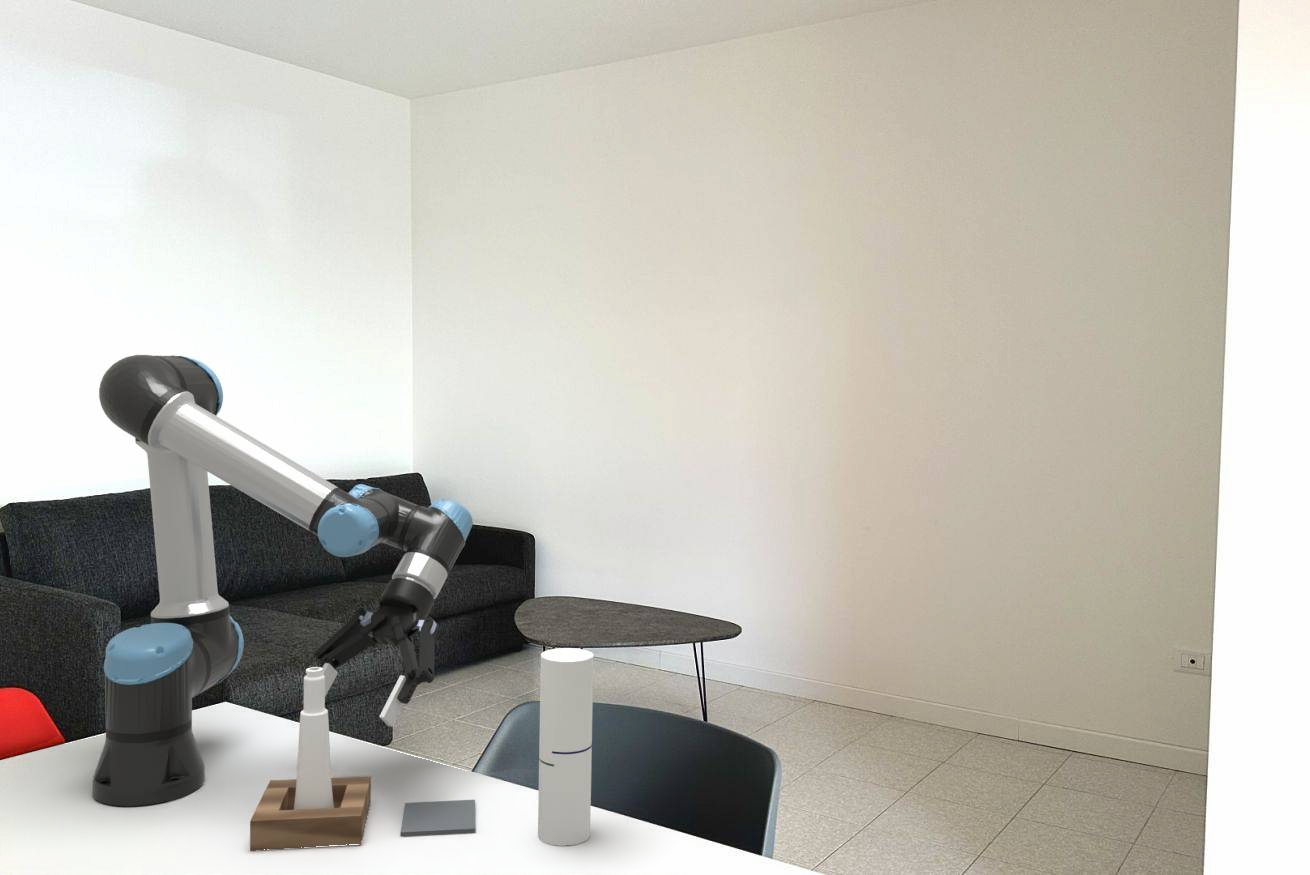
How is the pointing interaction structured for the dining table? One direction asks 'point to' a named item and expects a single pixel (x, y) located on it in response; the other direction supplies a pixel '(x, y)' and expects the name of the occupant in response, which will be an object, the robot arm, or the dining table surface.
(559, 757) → the cylindrical container
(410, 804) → the mat
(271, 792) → the collar
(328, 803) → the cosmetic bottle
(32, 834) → the dining table surface
